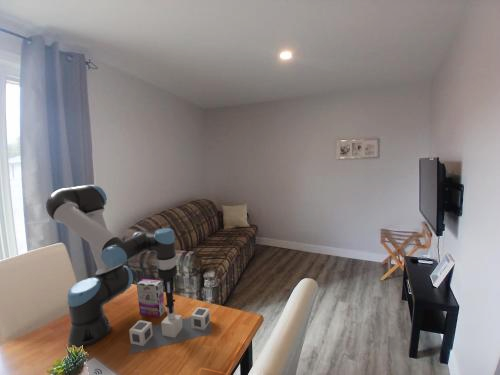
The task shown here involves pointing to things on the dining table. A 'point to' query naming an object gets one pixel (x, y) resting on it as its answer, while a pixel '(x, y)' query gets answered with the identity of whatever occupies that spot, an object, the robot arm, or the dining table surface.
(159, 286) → the candy bar box
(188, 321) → the grey mat
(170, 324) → the plain block
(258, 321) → the dining table surface
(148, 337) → the marked block
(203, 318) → the marked block
